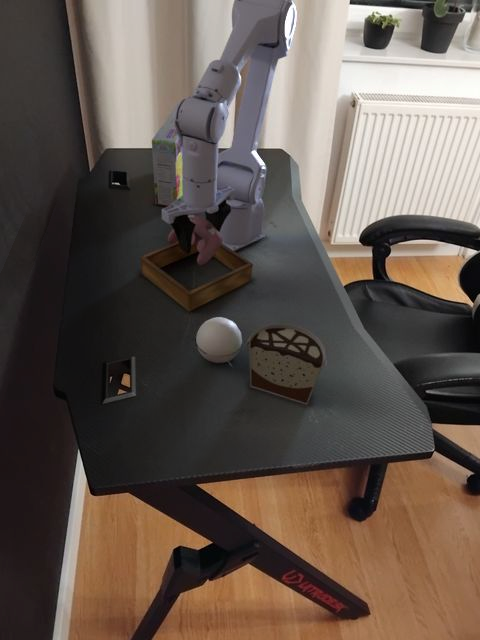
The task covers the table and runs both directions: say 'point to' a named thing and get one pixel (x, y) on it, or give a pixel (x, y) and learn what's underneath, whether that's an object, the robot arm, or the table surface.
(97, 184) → the table surface
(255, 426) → the table surface
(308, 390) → the brown and beige cupcake
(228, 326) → the seamed sphere
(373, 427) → the table surface
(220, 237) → the video game controller
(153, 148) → the snack box
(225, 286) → the wooden frame
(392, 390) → the table surface
